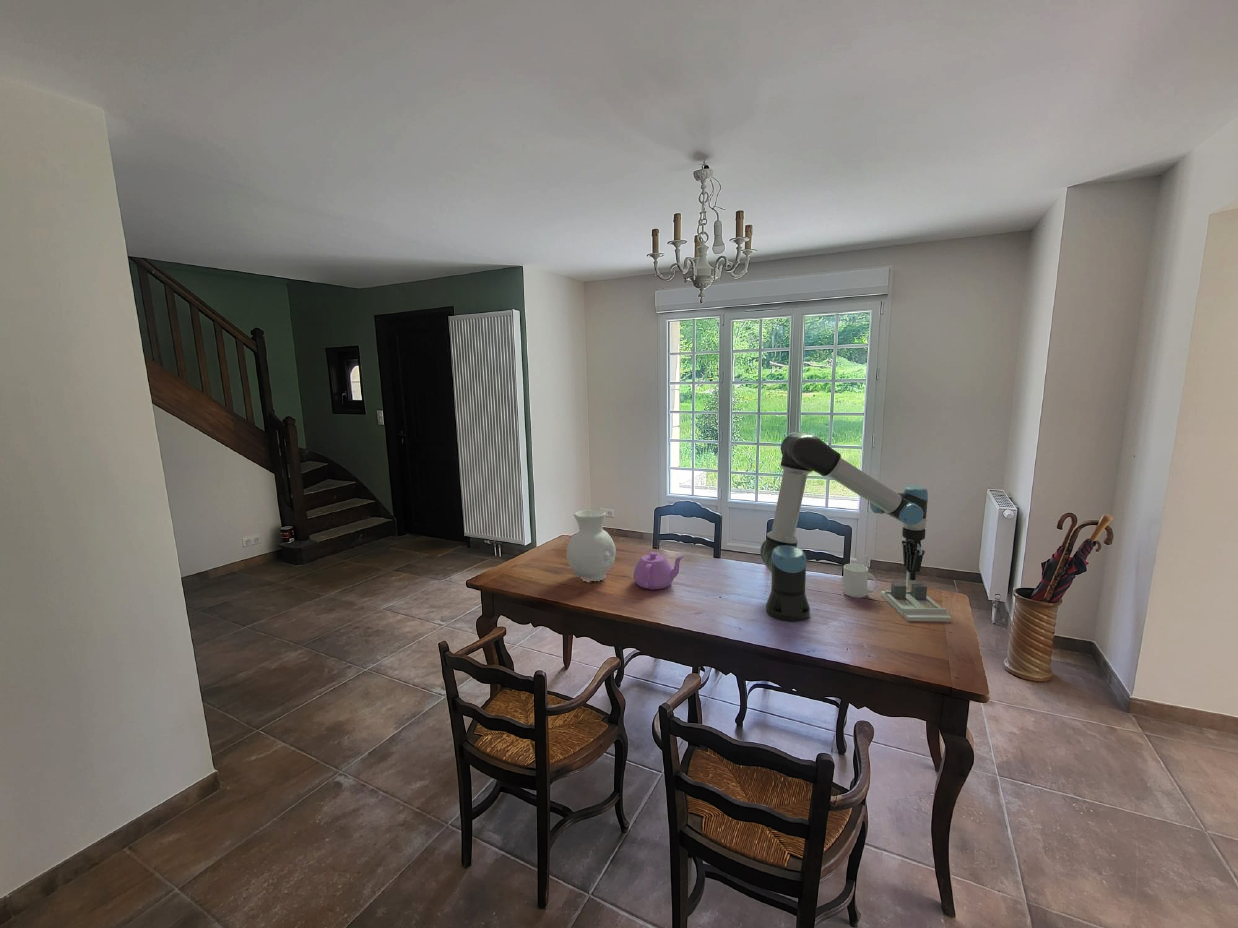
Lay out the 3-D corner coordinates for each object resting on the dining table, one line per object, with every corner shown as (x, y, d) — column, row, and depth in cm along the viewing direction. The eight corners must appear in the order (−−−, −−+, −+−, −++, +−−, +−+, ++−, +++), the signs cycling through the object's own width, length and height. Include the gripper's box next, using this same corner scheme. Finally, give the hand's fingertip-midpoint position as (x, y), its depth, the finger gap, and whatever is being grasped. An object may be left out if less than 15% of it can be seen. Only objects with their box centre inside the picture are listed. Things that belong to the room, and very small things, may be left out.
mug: (874, 602, 189) (875, 575, 187) (840, 594, 196) (841, 568, 194) (878, 594, 195) (880, 567, 194) (845, 587, 203) (846, 562, 201)
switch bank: (907, 620, 173) (908, 612, 173) (880, 594, 195) (881, 587, 194) (950, 621, 172) (951, 613, 172) (918, 594, 194) (919, 587, 193)
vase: (623, 574, 224) (621, 509, 220) (596, 591, 207) (593, 521, 202) (590, 567, 234) (587, 504, 230) (561, 583, 217) (557, 515, 212)
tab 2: (914, 599, 186) (915, 586, 185) (910, 596, 188) (911, 583, 188) (926, 599, 185) (927, 586, 184) (922, 596, 188) (922, 583, 187)
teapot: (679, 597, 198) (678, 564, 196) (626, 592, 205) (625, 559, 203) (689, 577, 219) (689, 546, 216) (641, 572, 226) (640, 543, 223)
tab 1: (894, 598, 187) (895, 586, 186) (890, 595, 190) (891, 582, 189) (905, 598, 186) (906, 586, 186) (901, 595, 189) (902, 583, 188)
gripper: (933, 532, 182) (929, 594, 186) (915, 522, 195) (912, 580, 199) (911, 532, 183) (908, 593, 187) (895, 522, 196) (892, 580, 200)
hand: (910, 586), depth 193 cm, fingers closed
